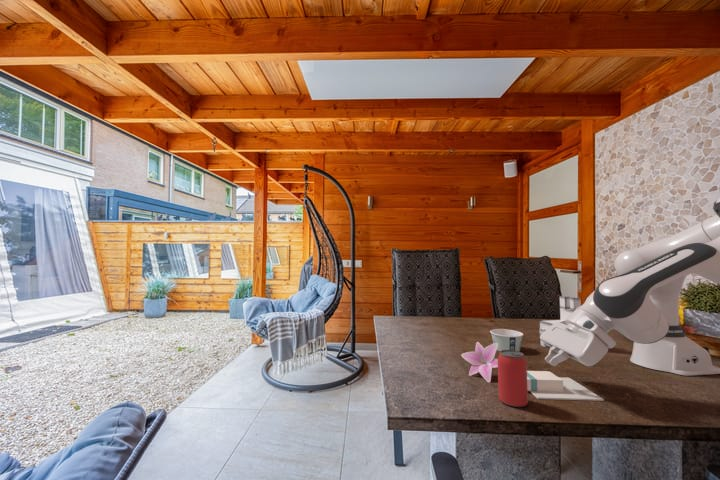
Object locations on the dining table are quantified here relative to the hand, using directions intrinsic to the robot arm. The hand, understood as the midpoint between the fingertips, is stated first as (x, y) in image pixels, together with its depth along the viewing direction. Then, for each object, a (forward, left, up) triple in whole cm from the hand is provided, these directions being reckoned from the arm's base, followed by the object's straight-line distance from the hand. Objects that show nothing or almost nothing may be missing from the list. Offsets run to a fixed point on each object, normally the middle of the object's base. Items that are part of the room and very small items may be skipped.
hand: (549, 362), depth 85 cm
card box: (-2, 0, -5) cm, 5 cm away
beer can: (+14, +9, -7) cm, 18 cm away
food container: (-3, -37, -7) cm, 38 cm away
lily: (+15, -9, -7) cm, 19 cm away
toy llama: (-26, -41, -7) cm, 49 cm away
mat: (-1, 0, -7) cm, 7 cm away
